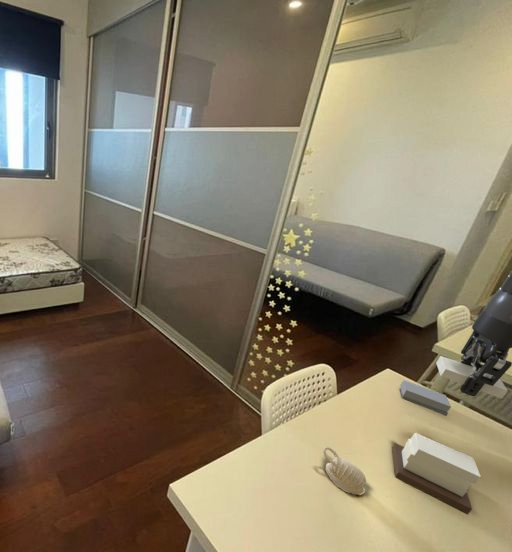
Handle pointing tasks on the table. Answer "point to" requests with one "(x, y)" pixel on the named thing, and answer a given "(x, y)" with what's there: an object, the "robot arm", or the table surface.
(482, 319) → the robot arm
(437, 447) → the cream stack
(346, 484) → the decorative ornament
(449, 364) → the white rectangular block
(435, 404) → the blue-grey block
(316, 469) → the table surface
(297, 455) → the table surface
